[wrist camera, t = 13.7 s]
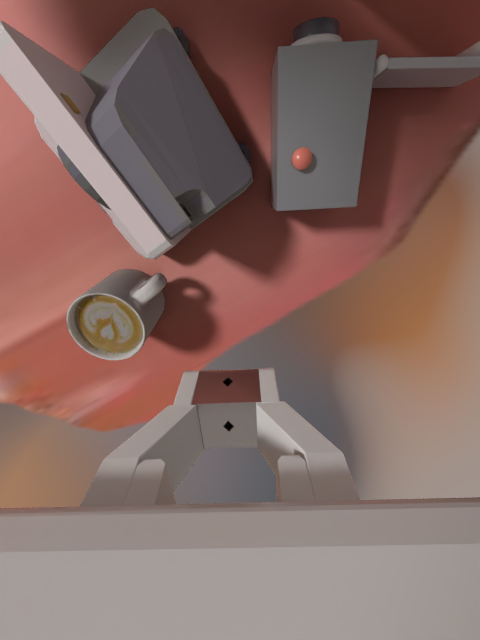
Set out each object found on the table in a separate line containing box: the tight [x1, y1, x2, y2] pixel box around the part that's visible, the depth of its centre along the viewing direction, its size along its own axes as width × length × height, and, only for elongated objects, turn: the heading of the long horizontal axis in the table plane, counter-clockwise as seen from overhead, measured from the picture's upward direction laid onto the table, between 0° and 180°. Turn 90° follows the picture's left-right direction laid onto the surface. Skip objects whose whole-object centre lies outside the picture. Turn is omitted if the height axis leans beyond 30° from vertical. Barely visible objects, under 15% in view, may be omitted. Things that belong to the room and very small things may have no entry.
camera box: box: [271, 17, 378, 211], centre depth 30 cm, size 16×9×8 cm, turn 3°
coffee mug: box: [67, 269, 167, 360], centre depth 39 cm, size 13×10×10 cm
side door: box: [372, 41, 480, 88], centre depth 26 cm, size 12×3×12 cm, turn 91°
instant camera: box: [0, 7, 253, 259], centre depth 28 cm, size 21×21×15 cm
